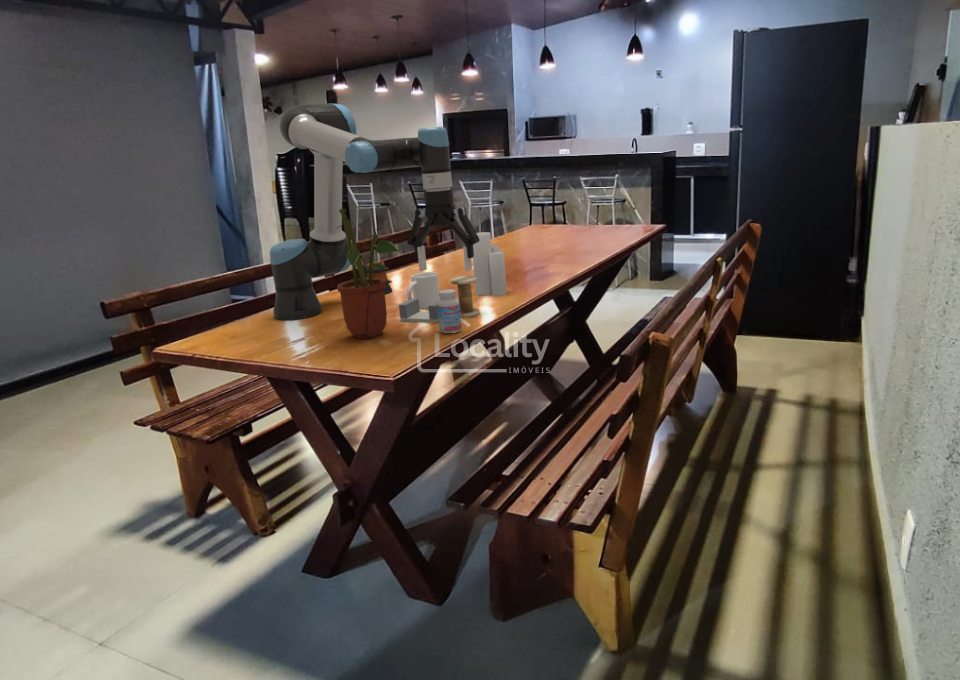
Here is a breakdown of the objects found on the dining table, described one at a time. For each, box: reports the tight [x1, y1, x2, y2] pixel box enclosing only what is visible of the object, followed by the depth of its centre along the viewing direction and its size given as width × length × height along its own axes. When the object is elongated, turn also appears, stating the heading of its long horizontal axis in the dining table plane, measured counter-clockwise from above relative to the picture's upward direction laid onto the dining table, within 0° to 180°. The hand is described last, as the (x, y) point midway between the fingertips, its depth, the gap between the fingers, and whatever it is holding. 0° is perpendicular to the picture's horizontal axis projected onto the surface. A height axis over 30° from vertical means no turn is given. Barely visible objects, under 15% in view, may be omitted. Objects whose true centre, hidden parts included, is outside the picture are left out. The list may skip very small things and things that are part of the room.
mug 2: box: [361, 260, 393, 296], centre depth 239 cm, size 13×10×12 cm
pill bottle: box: [437, 289, 462, 334], centre depth 183 cm, size 6×6×11 cm
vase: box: [472, 231, 508, 297], centre depth 222 cm, size 11×7×20 cm, turn 66°
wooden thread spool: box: [450, 275, 480, 318], centre depth 199 cm, size 8×8×11 cm
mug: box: [406, 271, 440, 310], centre depth 211 cm, size 12×8×10 cm
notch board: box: [398, 297, 439, 323], centre depth 199 cm, size 12×8×5 cm, turn 66°
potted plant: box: [336, 208, 401, 340], centre depth 183 cm, size 17×16×35 cm
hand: (445, 270), depth 180 cm, fingers open, 13 cm apart
